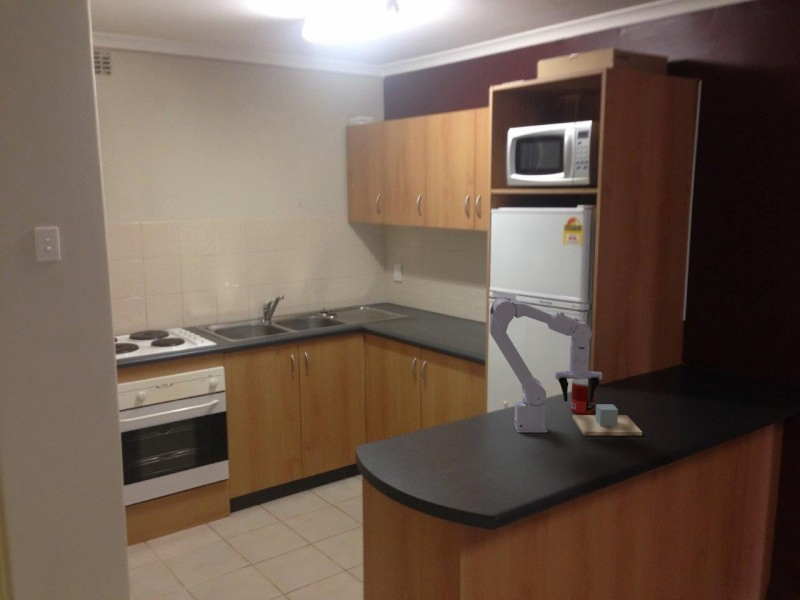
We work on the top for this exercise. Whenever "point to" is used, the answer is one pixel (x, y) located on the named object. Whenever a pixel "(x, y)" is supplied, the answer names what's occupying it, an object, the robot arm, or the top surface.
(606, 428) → the board
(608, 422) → the cube
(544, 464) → the top surface
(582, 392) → the canned food
